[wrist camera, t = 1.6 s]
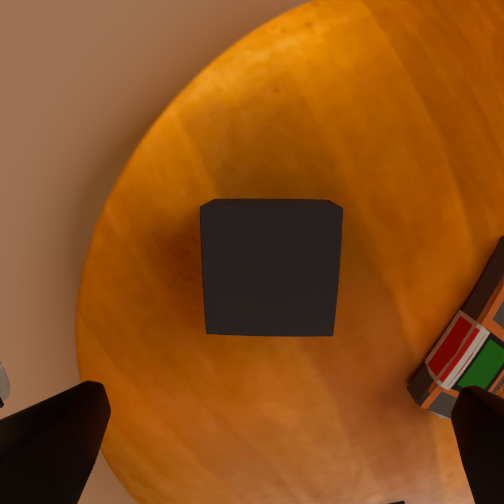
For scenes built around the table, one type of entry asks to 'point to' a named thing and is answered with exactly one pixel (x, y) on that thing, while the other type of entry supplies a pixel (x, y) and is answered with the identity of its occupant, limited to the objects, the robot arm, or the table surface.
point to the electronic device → (467, 346)
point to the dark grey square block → (270, 266)
